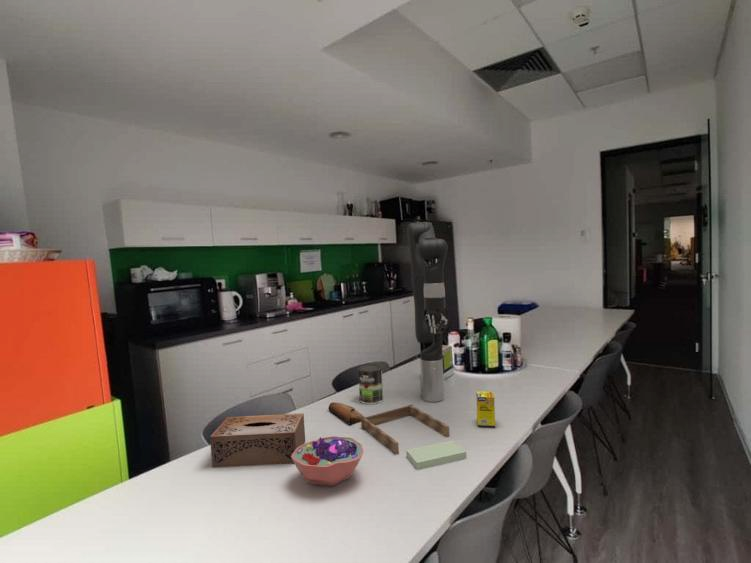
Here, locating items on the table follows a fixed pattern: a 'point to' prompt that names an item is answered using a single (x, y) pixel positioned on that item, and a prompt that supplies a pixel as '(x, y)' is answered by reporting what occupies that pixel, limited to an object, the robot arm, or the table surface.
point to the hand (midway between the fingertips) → (436, 343)
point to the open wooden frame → (380, 418)
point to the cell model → (328, 459)
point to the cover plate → (435, 454)
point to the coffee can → (370, 384)
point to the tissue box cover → (257, 440)
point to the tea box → (447, 361)
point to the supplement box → (485, 409)
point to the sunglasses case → (346, 413)
